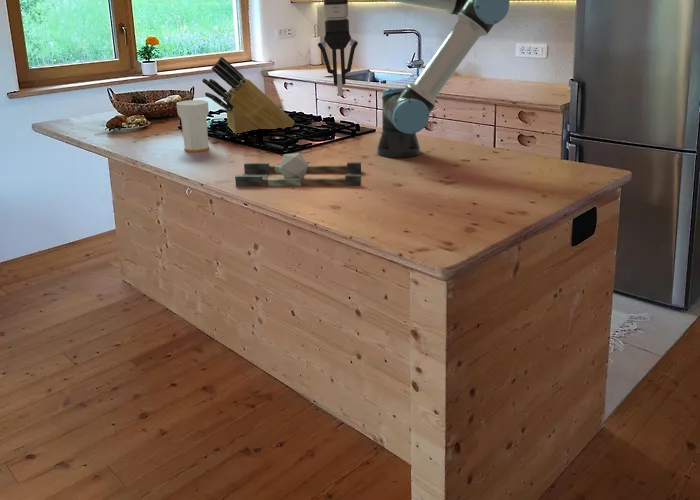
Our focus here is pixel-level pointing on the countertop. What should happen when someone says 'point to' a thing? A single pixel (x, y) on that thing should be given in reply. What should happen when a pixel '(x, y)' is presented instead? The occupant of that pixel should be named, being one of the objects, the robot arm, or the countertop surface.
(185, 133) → the cup
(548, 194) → the countertop surface
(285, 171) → the die
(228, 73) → the knife block
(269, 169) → the trap channel
